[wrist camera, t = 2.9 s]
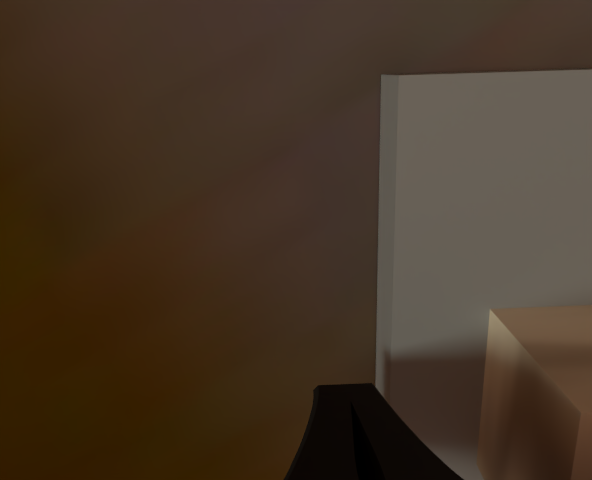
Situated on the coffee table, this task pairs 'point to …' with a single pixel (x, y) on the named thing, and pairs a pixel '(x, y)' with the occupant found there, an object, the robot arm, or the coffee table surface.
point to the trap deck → (474, 232)
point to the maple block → (537, 395)
